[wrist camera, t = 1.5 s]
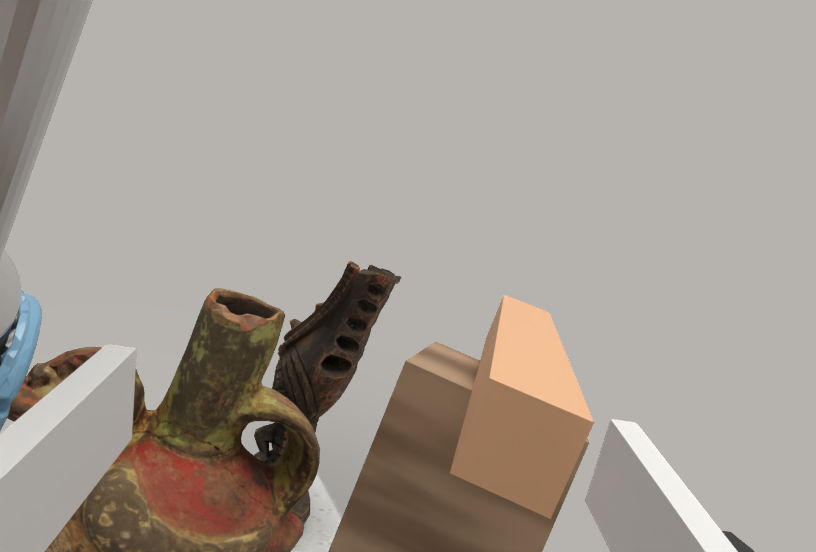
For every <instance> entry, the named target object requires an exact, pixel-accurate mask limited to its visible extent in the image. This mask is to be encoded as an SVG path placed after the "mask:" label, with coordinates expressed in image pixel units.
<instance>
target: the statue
mask: <svg viewBox="0 0 816 552" xmlns="http://www.w3.org/2000/svg"><path fill="white" fill-rule="evenodd" d="M359 270H360V268H359V266H358V265H357V264H355V263H354V262H351V261H349V262H348V264H347V267H346V269H345V271H344V274H343V276H342V278H341V279H340V281H339V283H338V284H337V285H336V287H335V289H334V290H333V291H332V293H331V294H330V296H329V297H328V298H327V300H326V301H325V302H324V303H320V304H316V309H315V311H314V313H313V314H312V315H310V316H309V317H308V318H307V319H306V320H304V321H303V322H300V321H298V320H296V319H293V320H291V321H290V325H291V330H290V331H289V332H288V333H287V334H286V335H285V336H284V340H285V342H284V343H283V344H282V345H280V346H279V352H278V355H279V357H280V360H279V361H278V364H277V366H276V370H275V376H274V382H273V387H272V389H273V390H276V391H277V392H279V393H281V394H282V395H283V396H285V397H286V398H288V399H289V400H290V401H291V402H292V403H294V404H295V405H296V406H297V407H298V408H299V410H300V411H301V412H302V413H303V414H304V416H305V417H306V418H307V419H308V421H309V422H310V424H311V426H312V428H313V430H314V432H316V426H317V422H318V420H319V417H320V416H322V415H323V414H324V413H325V412H326V411H328V410H329V409H330V408H331V407H332V406H333V405H334V404H335V403H336V401H337V400H338V399H339V398H340V397H341V395H342V394H343V393H344V391H345V389H346V388H347V386H348V384H349V383H350V381H351V379H352V377H353V375H354V374H355V371H356V369H357V364H358V361H359V360H360V358H361V357H362V355H363V352H364V348H365V346H366V343H367V341H368V338H369V335H370V332H371V328H372V326H373V325H374V324H375V322H376V320H377V318H378V315H379V313H380V311H381V309H382V308H383V307H384V305H385V303H386V301H387V300H388V298H389V295H390V293H391V291H392V289H393V287H394V285H395V283H396V284H397V283H399V282H400V279H401V277H400V276H395V275H394V274H393V273H392V272H390V271H388V270H385V269H379V268H377V267H375V266H373V265H369V267H368V269H367V270H365V269H364V270H361V271H359ZM254 437H255V440H256V443H257V446H258V448H259V450H260V452H258V453H256V454H255V455H254V456H255V457H256V458H258V459H259V460H261V461H263V462H265V463H267V464H271V463H273V462H275V461H276V460H277V459H279V458H280V457H281V455H282V453H283V451H284V449H285V447H286V445H287V442H288V434H287V431H286V429H285V426H283V425H282V424H280V423H276V422H275V423H273V424H269V425H266V426H263V427H261V428H259V429H256V431H255V435H254ZM269 442H270V443H272V448H273V450H271V451H269ZM291 510H292V511H293V512H294V513H295V514H296V515H297V517H298V518H299V519H300V520H301V522H302V524H303V526H304V524H305V522H306V520H307V519H308V517H309V515H310V497H309V491H307V492H306V494H305V495H304V496H303V498H302V499H301V500H300V501H299V502H298V503H297V504H296V505H295V506H294V507H293V508H292V509H291Z"/></svg>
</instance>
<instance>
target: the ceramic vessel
mask: <svg viewBox="0 0 816 552" xmlns="http://www.w3.org/2000/svg"><path fill="white" fill-rule="evenodd" d="M284 318H285V314H284V312H283V311H282V310H280V309H279V308H276V307H273V306H270V305H268V304H267V303H265V302H263V301H261V300H259V299H257V298H255V297H252V296H248V295H245V294H242V293H239V292H235V291H231V290H226V289H221V288H216V289H214V290H213V291H212V292H211V293H210V294H209V295H208V296H207V298H206V300H205V301H204V304H203V306H202V309H201V311H200V314H199V316H198V319H197V321H196V324H195V327H194V330H193V333H192V335H191V338H190V341H189V343H188V346H187V348H186V351H185V353H184V355H183V357H182V360H181V362H180V364H179V366H178V369H177V371H176V374H175V376H174V378H173V381H172V383H171V385H170V387H169V389H168V391H167V393H166V395H165V397H164V400H163V401H162V402H161V404H160V405H159V407H158V408H157V409H156V410H152V411H151V410H147V409H146V406H145V402H144V387H143V384H142V382H141V380H140V378H139V375H138V373H137V370H136V371H135V390H134V408H133V426H132V439H131V441H130V442H129V443H128V444H127V446H126V447H125V448H124V450H123V451H122V452H121V454H120V455H119V456H118V457H117V459H116V460H115V461H114V463H113V464H112V465H111V466H110V468H109V469H108V470H107V472H106V473H105V474H104V476H103V477H102V478H101V479H100V481H99V482H98V483H97V485H96V486H95V487H94V488H93V490H92V491H91V492H90V494H89V495H88V496H87V498H86V499H85V500H84V501H83V503H82V504H81V505H80V507H79V508H78V509H77V511H76V512H75V513H74V514H73V516H72V517H71V518H70V520H69V521H68V522H67V523H66V525H65V526H64V527H63V529H62V530H61V531H60V533H59V534H58V535H57V536H56V538H55V539H54V540H53V542H52V543H51V544H50V545H49V547H48V548H47V549H46V551H45V552H290V551H291V550H292V549H293V548H294V547H295V545H296V544H297V542H298V541H299V539H300V537H301V536H302V534H303V529H304V526H303V524H302V522H301V520H300V519H299V518H298V517H297V515H296V514H295V513H294V512H293V511H292V510H291V509H292V508H293V507H294V506H295V505H296V504H297V503H298V502H299V501H300V500H301V499H302V498H303V496H304V495H305V494H306V492H307V491H308V489H309V488H310V487H311V485H312V483H313V481H314V479H315V477H316V475H317V471H318V466H319V458H320V457H319V456H320V448H319V444H318V441H317V438H316V435H315V432H314V430H313V428H312V426H311V424H310V422H309V421H308V419H307V418H306V417H305V416H304V414H303V413H302V412H301V411H300V410H299V408H298V407H297V406H296V405H295V404H294V403H292V402H291V401H290V400H289V399H288V398H286V397H285V396H283V395H282V394H281V393H279V392H277V391H276V390H273V389H270V388H267V387H265V386H262V383H261V381H262V378H263V375H264V373H265V372H266V370H267V367H268V366H269V363H270V360H271V358H272V356H273V353H274V350H275V348H276V345H277V342H278V339H279V336H280V332H281V328H282V325H283V322H284ZM100 349H102V348H101V347H85V348H79V349H75V350H71V351H67V352H65V353H63V354H61V355H59V356H57V357H56V358H54V359H52V360H50V361H48V362H46V363H39V364H36V365H35V366H34V367H33V368H32V369H31V371H30V372H29V374H28V375H27V376H26V377H25V380H24V382H23V384H22V387H21V389H20V391H19V392H18V394H17V396H16V398H15V399H14V400H13V401H12V403H11V405H10V410H9V414H8V417H7V418H8V419H10V420H12V421H14V422H15V421H16V420H17V419H19V418H20V417H21V416H22V415H23V414H24V413H26V412H27V411H28V410H29V409H30V408H32V407H33V406H34V405H35V404H36V403H38V402H39V401H40V400H41V399H42V398H43V397H45V396H46V395H47V394H48V393H49V392H51V391H52V390H53V389H54V388H55V387H57V386H58V385H59V384H60V383H61V382H62V381H64V380H65V379H66V378H67V377H68V376H70V375H71V374H72V373H73V372H74V371H75V370H77V369H78V368H79V367H80V366H81V365H83V364H84V363H85V362H86V361H87V360H89V359H90V358H91V357H92V356H93V355H94V354H96V353H97V352H98V351H99V350H100ZM253 421H271V422H276V423H280V424H282V425H283V426H285V429H286V431H287V434H288V442H287V445H286V447H285V449H284V451H283V453H282V455H281V457H280V458H279V459H277V460H276V461H275V462H273V463H271V464H267V463H265V462H263V461H261V460H259V459H258V458H256V457H255V456H253V455H252V454H251V453H250V452H248V451H247V450H246V449H245V448H244V446H243V445H242V443H241V436H242V432H243V430H244V429H245V427H246V426H247V424H248V423H250V422H253Z"/></svg>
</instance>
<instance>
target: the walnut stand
mask: <svg viewBox="0 0 816 552" xmlns="http://www.w3.org/2000/svg"><path fill="white" fill-rule="evenodd" d="M479 364H480V361H479V360H477V359H474V358H472V357H470V356H468V355H465V354H463V353H461V352H458V351H456V350H454V349H452V348H449V347H447V346H445V345H442V344H440V343H438V342H434V343H433V344H431V345H430V346H428V347H427V348H425V349H423V350H422V351H420V352H419V353H417V354H416V355H414V356H413V357H411V358H410V359H408V360H406V361H405V364H404V366H403V369H402V371H401V374H400V376H399V379H398V381H397V384H396V386H395V388H394V391H393V394H392V396H391V398H390V401H389V403H388V406H387V408H386V411H385V413H384V416H383V418H382V421H381V423H380V426H379V428H378V431H377V433H376V436H375V438H374V441H373V443H372V445H371V448H370V450H369V453H368V455H367V458H366V461H365V463H364V465H363V468H362V470H361V473H360V475H359V478H358V480H357V483H356V485H355V488H354V490H353V492H352V495H351V498H350V500H349V502H348V505H347V507H346V510H345V512H344V515H343V517H342V520H341V522H340V525H339V527H338V530H337V532H336V535H335V537H334V539H333V542H332V544H331V547H330V549H329V552H542V551H543V548H544V546H545V544H546V541H547V539H548V537H549V534H550V532H551V530H552V528H553V525H554V523H555V521H556V518H557V516H558V514H559V511H560V509H561V507H562V504H563V502H564V500H565V498H566V495H567V493H568V491H569V488H570V486H571V484H572V481H573V479H574V477H575V474H576V472H577V470H578V467H579V465H580V463H581V461H582V458H583V456H584V454H585V451H586V449H587V447H588V444H589V442H588V439H586V441H585V444H584V446H583V448H582V450H581V452H580V455H579V457H578V459H577V461H576V464H575V466H574V468H573V470H572V472H571V475H570V477H569V479H568V481H567V484H566V486H565V488H564V490H563V492H562V495H561V497H560V499H559V501H558V504H557V506H556V508H555V510H554V512H553V515H552V517H551V519H549V518H547V517H545V516H543V515H541V514H538V513H536V512H534V511H532V510H530V509H527V508H525V507H523V506H521V505H519V504H516V503H514V502H512V501H510V500H508V499H505V498H503V497H501V496H499V495H497V494H494V493H492V492H490V491H488V490H486V489H483V488H481V487H479V486H477V485H475V484H473V483H470V482H468V481H466V480H464V479H462V478H459V477H457V476H455V475H453V474H451V473H450V471H451V467H452V463H453V460H454V456H455V452H456V448H457V445H458V441H459V437H460V434H461V430H462V426H463V423H464V419H465V415H466V412H467V408H468V404H469V400H470V397H471V393H472V389H473V386H474V382H475V378H476V375H477V371H478V367H479Z"/></svg>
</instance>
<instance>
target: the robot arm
mask: <svg viewBox="0 0 816 552" xmlns="http://www.w3.org/2000/svg"><path fill="white" fill-rule="evenodd" d="M92 1H93V0H0V430H1V429H2V427H3V425H4V423H5V421H6V419H7V417H8V414H9V410H10V405H11V403H12V401H13V400H14V399H15V398H16V396H17V394H18V392H19V391H20V389H21V387H22V384H23V382H24V380H25V377H26V374H27V372H28V369H29V366H30V363H31V360H32V358H33V354H34V351H35V348H36V344H37V340H38V336H39V331H40V326H41V319H42V309H41V306H40V304H39V302H38V301H37V300H36V299H35V297H33V296H31V295H29V294H26V293H24V292H23V291H22V290H21V282H20V276H19V273H18V271H17V268H16V266H15V264H14V262H13V261H12V259H11V258H10V256H9V255H8V253H7V252H6V251H5V250H4V248H5V245H6V242H7V240H8V237H9V234H10V231H11V228H12V226H13V223H14V220H15V217H16V214H17V212H18V209H19V206H20V203H21V200H22V197H23V195H24V192H25V189H26V186H27V183H28V181H29V178H30V175H31V172H32V169H33V167H34V164H35V161H36V158H37V155H38V152H39V150H40V147H41V144H42V141H43V139H44V136H45V133H46V130H47V127H48V124H49V122H50V119H51V116H52V113H53V111H54V108H55V105H56V102H57V99H58V96H59V94H60V91H61V88H62V85H63V82H64V80H65V77H66V74H67V71H68V68H69V65H70V63H71V60H72V57H73V54H74V51H75V49H76V46H77V43H78V40H79V37H80V35H81V32H82V29H83V26H84V24H85V21H86V18H87V15H88V12H89V9H90V7H91V4H92ZM136 353H137V349H136V348H131V347H124V346H118V345H111V344H106V345H105V346H104V347H103V348H102V349H100V350H99V351H98V352H97V353H96V354H94V355H93V356H92V357H91V358H90V359H89V360H87V361H86V362H85V363H84V364H83V365H81V366H80V367H79V368H78V369H77V370H75V371H74V372H73V373H72V374H71V375H70V376H68V377H67V378H66V379H65V380H64V381H62V382H61V383H60V384H59V385H58V386H57V387H55V388H54V389H53V390H52V391H51V392H49V393H48V394H47V395H46V396H45V397H43V398H42V399H41V400H40V401H39V402H38V403H36V404H35V405H34V406H33V407H32V408H30V409H29V410H28V411H27V412H26V413H24V414H23V415H22V416H21V417H20V418H19V419H17V420H16V421H15V422H14V423H13V424H11V426H9V427H8V428H7V429H6V430H4V431H3V432H2V433H1V434H0V552H45V551H46V549H47V548H48V547H49V545H50V544H51V543H52V542H53V540H54V539H55V538H56V536H57V535H58V534H59V533H60V531H61V530H62V529H63V527H64V526H65V525H66V523H67V522H68V521H69V520H70V518H71V517H72V516H73V514H74V513H75V512H76V511H77V509H78V508H79V507H80V505H81V504H82V503H83V501H84V500H85V499H86V498H87V496H88V495H89V494H90V492H91V491H92V490H93V488H94V487H95V486H96V485H97V483H98V482H99V481H100V479H101V478H102V477H103V476H104V474H105V473H106V472H107V470H108V469H109V468H110V466H111V465H112V464H113V463H114V461H115V460H116V459H117V457H118V456H119V455H120V454H121V452H122V451H123V450H124V448H125V447H126V446H127V444H128V443H129V442H130V441H131V439H132V426H133V408H134V390H135V371H136ZM585 502H586V504H587V506H588V508H589V510H590V512H591V514H592V516H593V518H594V520H595V521H596V524H597V525H598V528H599V530H600V532H601V534H602V536H603V537H604V540H605V541H606V544H607V546H608V548H609V550H610V552H754V551H753V550H752V549H751V548H750V547H748V546H747V545H746V544H745V543H744V542H742V541H741V540H740V539H739V538H737V537H736V536H735V535H734V534H732V533H731V532H726V531H721V530H720V528H719V527H718V526H717V525H716V523H715V522H714V521H713V520H712V518H711V517H710V516H709V515H708V513H707V512H706V511H705V509H704V508H703V507H702V506H701V504H699V502H698V501H697V499H696V498H695V497H694V495H693V494H692V493H691V492H690V490H689V489H688V488H687V487H686V485H685V484H684V483H683V482H682V480H681V479H680V478H679V476H678V475H677V474H676V473H675V471H674V470H673V469H672V467H671V466H670V465H669V464H668V462H666V460H665V459H664V457H663V456H662V455H661V454H660V452H659V451H658V450H657V448H656V447H655V446H654V445H653V443H652V442H651V441H650V439H649V438H648V437H647V436H646V434H645V433H644V432H643V431H642V429H641V428H640V427H639V425H638V424H637V423H634V422H628V421H621V420H614V419H611V420H610V423H609V426H608V429H607V432H606V435H605V439H604V442H603V445H602V448H601V451H600V455H599V458H598V461H597V464H596V467H595V470H594V474H593V477H592V480H591V484H590V486H589V489H588V493H587V496H586V499H585Z"/></svg>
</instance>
